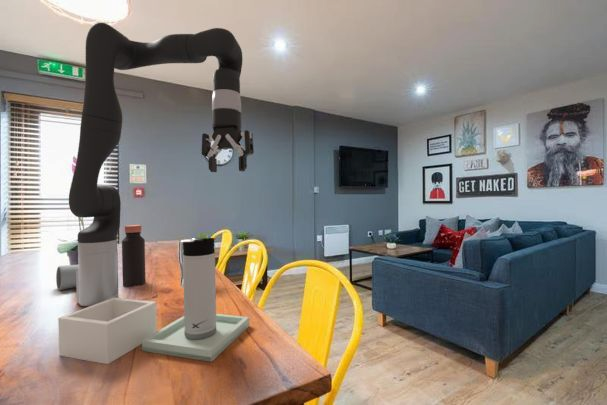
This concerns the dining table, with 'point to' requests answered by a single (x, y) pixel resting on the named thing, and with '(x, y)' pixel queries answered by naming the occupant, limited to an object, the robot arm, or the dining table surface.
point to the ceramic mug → (66, 277)
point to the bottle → (133, 257)
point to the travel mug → (199, 289)
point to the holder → (106, 329)
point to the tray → (205, 349)
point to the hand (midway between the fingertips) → (227, 171)
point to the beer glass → (180, 256)
